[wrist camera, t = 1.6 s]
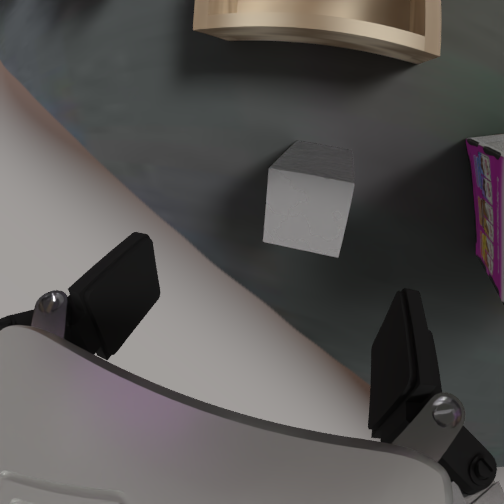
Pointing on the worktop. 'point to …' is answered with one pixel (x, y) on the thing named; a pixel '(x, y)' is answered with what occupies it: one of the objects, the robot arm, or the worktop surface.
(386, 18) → the open wooden box
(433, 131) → the worktop surface
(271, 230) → the brushed metal block
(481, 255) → the candy bar box
